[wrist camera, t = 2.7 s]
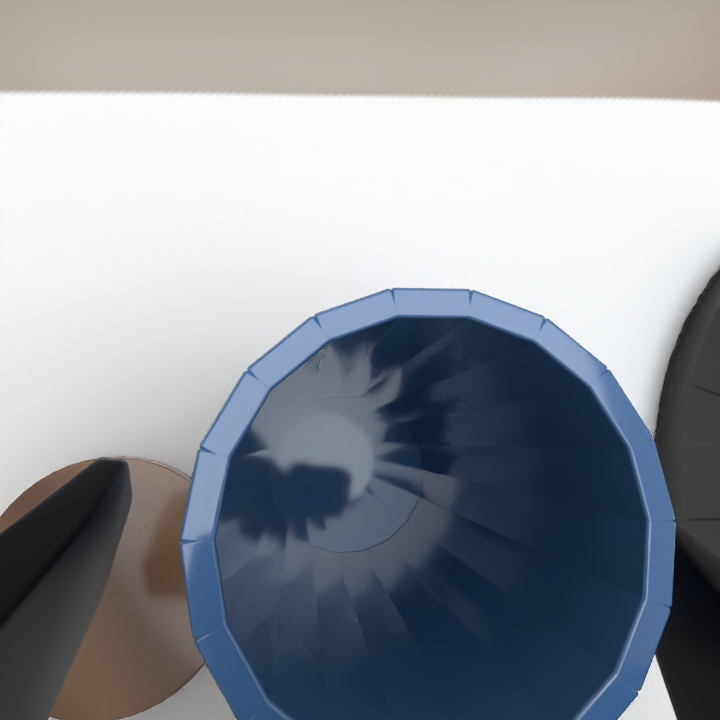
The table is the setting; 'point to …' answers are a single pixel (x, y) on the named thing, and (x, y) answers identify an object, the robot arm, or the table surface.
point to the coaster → (131, 602)
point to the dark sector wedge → (694, 421)
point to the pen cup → (428, 522)
